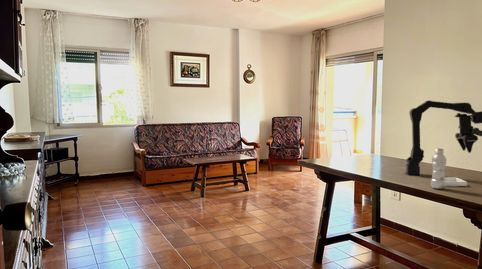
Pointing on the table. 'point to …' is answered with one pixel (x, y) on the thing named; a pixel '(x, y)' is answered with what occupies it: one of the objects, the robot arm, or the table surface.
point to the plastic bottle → (438, 169)
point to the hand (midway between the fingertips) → (466, 151)
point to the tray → (455, 182)
